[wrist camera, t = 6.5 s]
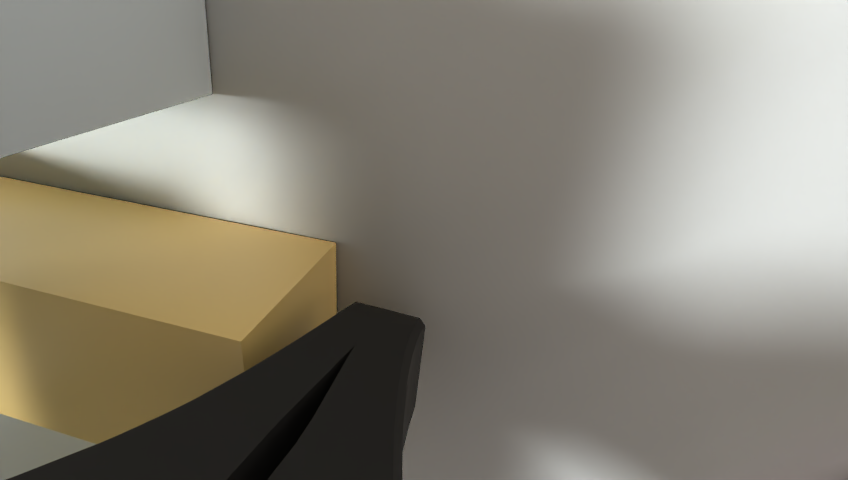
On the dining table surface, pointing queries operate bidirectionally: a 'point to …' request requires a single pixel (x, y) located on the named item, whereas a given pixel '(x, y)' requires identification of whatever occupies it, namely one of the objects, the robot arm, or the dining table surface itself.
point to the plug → (140, 306)
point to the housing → (88, 107)
